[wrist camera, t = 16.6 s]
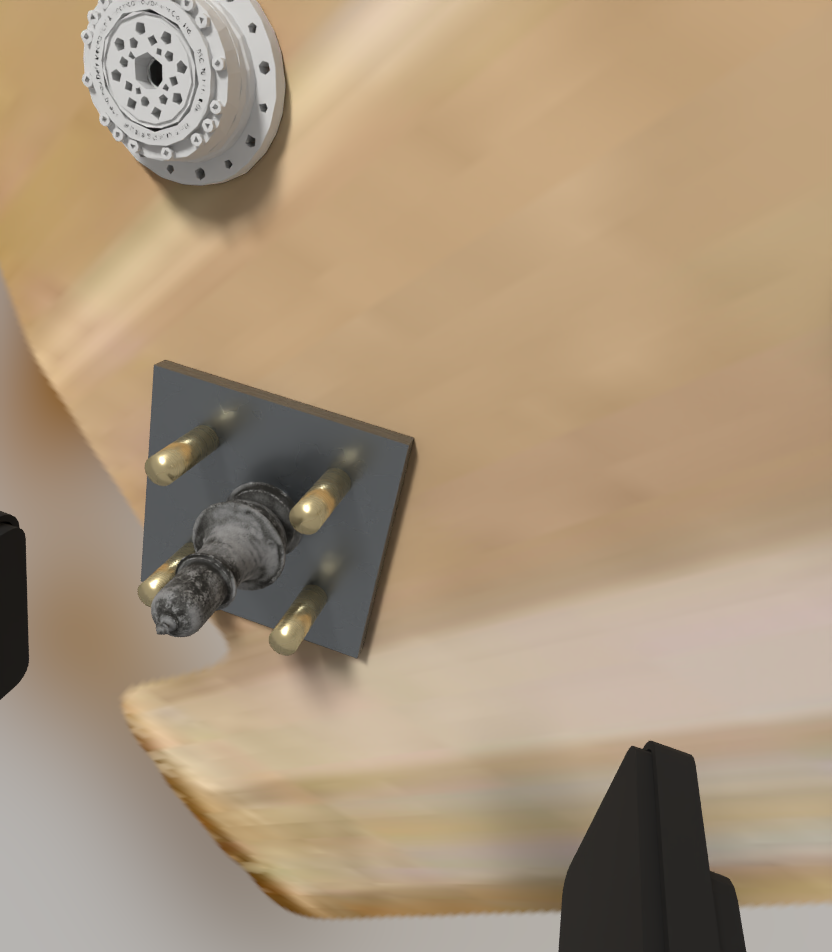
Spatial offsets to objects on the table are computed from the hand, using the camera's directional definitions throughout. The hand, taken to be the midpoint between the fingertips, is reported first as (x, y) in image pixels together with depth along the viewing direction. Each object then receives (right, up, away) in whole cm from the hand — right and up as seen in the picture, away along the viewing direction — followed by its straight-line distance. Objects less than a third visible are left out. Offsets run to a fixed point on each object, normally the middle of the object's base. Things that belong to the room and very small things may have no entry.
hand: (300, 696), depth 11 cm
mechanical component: (-10, +24, +27) cm, 37 cm away
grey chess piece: (-8, +1, +35) cm, 36 cm away
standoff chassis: (-8, +1, +36) cm, 37 cm away
